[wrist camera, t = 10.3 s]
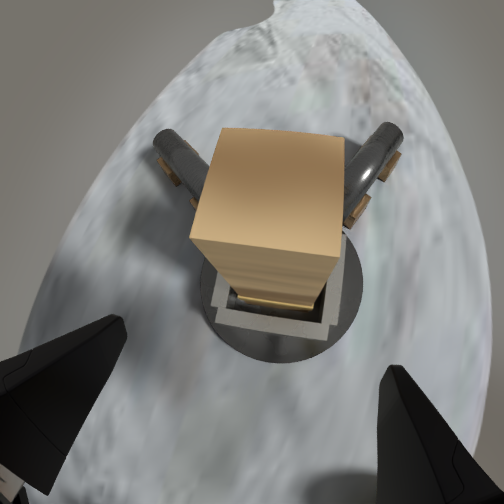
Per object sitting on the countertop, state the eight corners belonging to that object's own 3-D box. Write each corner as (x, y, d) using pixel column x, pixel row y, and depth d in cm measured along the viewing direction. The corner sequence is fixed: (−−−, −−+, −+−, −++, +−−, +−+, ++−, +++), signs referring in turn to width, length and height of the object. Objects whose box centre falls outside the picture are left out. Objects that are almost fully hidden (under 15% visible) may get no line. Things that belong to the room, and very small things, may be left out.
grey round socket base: (349, 372, 18) (360, 376, 15) (188, 345, 20) (172, 344, 17) (364, 219, 22) (374, 200, 19) (221, 202, 24) (212, 181, 21)
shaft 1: (252, 218, 23) (244, 189, 19) (221, 242, 23) (206, 218, 19) (189, 151, 26) (175, 121, 22) (163, 170, 26) (145, 142, 22)
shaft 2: (341, 241, 22) (352, 216, 17) (309, 217, 23) (313, 188, 18) (396, 164, 23) (410, 134, 19) (368, 146, 24) (378, 115, 20)
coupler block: (309, 314, 19) (343, 261, 8) (244, 304, 20) (185, 240, 8) (317, 252, 21) (346, 136, 9) (256, 244, 22) (220, 126, 10)
